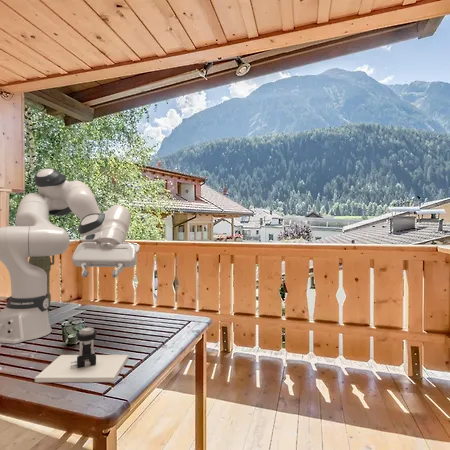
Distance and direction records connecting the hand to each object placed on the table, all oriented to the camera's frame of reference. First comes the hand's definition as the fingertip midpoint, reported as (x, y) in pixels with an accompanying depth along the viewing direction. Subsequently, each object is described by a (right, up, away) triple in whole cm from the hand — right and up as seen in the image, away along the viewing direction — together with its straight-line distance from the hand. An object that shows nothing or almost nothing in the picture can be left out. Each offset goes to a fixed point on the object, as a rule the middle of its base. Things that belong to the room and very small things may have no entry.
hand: (99, 276), depth 102 cm
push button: (0, -23, -11) cm, 26 cm away
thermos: (-47, -23, +50) cm, 73 cm away
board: (0, -24, -11) cm, 27 cm away
